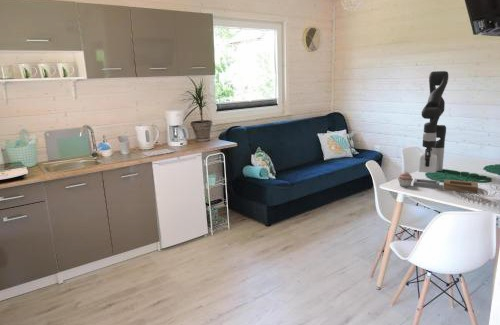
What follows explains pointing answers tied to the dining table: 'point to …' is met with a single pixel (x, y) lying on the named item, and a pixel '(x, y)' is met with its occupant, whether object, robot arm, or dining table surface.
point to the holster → (426, 183)
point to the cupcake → (405, 179)
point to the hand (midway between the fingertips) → (427, 165)
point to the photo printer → (431, 164)
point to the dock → (460, 185)
